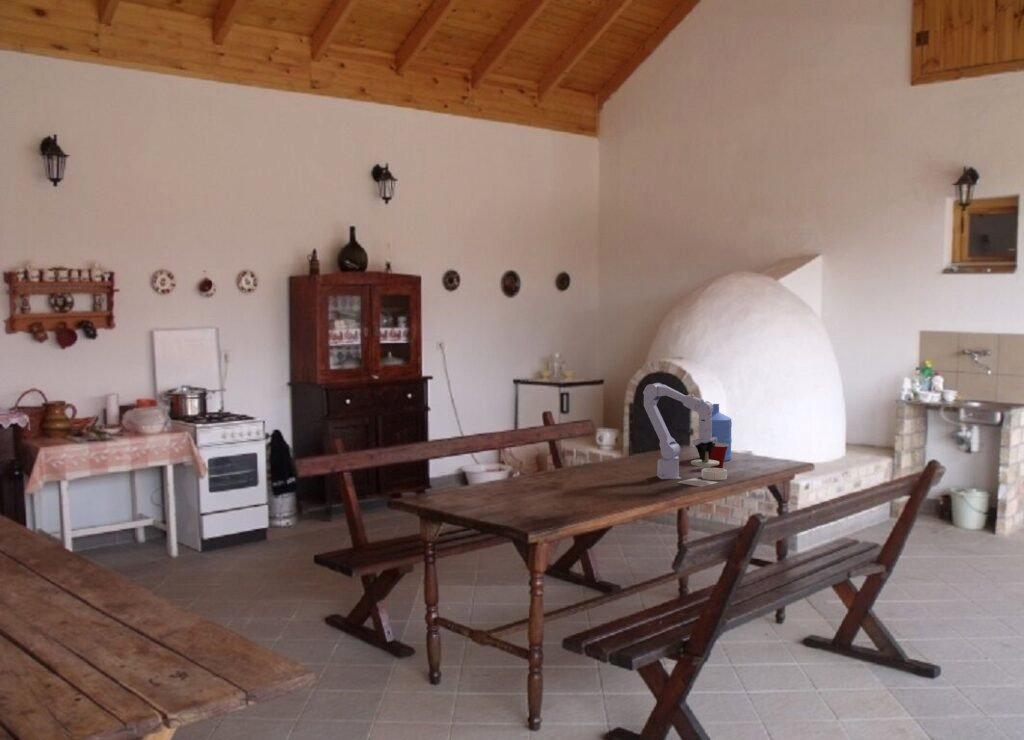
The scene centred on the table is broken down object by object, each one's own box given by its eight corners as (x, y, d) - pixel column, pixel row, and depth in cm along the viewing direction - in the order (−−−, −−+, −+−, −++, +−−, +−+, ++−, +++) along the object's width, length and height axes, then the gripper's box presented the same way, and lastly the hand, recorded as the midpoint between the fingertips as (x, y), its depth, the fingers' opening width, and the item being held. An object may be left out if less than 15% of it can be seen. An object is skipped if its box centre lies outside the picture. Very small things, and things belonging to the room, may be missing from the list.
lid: (694, 468, 407) (694, 454, 406) (688, 463, 419) (688, 449, 418) (722, 467, 407) (722, 453, 407) (715, 462, 420) (715, 449, 419)
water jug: (726, 456, 477) (726, 402, 475) (735, 461, 462) (735, 405, 460) (696, 456, 476) (696, 402, 474) (704, 462, 461) (705, 406, 459)
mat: (701, 487, 401) (701, 486, 401) (676, 483, 410) (676, 482, 410) (718, 483, 409) (718, 482, 409) (694, 479, 419) (694, 478, 419)
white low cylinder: (705, 481, 414) (705, 472, 413) (698, 476, 425) (699, 468, 424) (729, 480, 414) (729, 472, 414) (722, 476, 425) (722, 467, 425)
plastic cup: (730, 469, 440) (731, 444, 439) (707, 469, 441) (708, 445, 440) (725, 465, 451) (726, 441, 450) (703, 465, 451) (703, 441, 450)
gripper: (701, 431, 404) (701, 462, 405) (722, 428, 413) (722, 458, 414) (689, 429, 410) (688, 460, 411) (710, 426, 419) (710, 456, 420)
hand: (705, 459), depth 413 cm, fingers closed on lid, 3 cm apart
